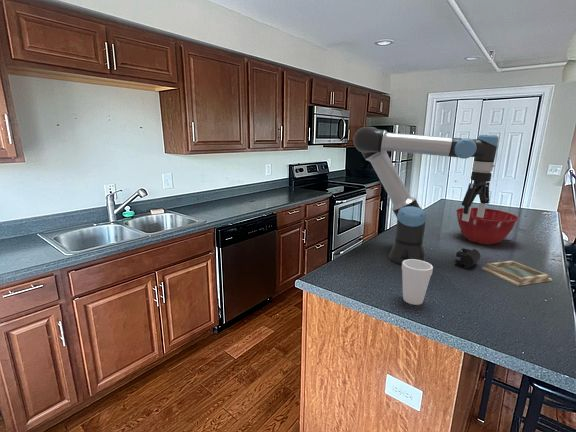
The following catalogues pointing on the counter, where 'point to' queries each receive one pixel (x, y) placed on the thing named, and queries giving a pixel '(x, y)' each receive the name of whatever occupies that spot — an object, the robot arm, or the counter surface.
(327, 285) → the counter surface
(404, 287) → the foam cup
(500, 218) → the mixing bowl
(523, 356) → the counter surface
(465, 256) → the end cap
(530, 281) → the picture frame
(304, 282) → the counter surface
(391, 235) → the counter surface
